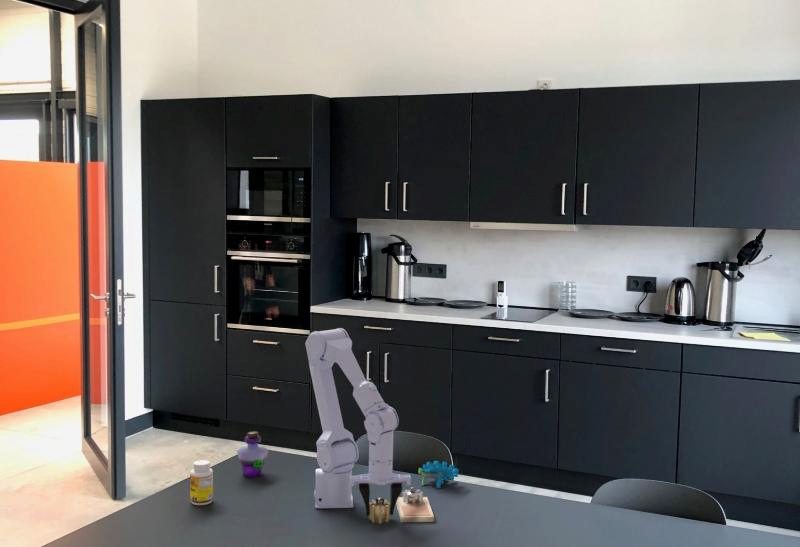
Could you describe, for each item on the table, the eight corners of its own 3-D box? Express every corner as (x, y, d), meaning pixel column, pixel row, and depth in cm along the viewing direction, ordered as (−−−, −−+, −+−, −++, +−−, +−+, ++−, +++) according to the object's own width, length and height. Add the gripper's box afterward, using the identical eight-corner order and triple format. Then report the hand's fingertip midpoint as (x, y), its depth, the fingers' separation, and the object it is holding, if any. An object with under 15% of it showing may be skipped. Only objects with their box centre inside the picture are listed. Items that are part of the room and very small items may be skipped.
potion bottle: (253, 482, 213) (253, 438, 212) (230, 475, 218) (230, 433, 217) (274, 473, 221) (275, 431, 220) (252, 467, 225) (252, 426, 224)
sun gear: (403, 504, 197) (404, 491, 196) (401, 497, 202) (402, 484, 201) (423, 504, 197) (424, 491, 197) (421, 497, 202) (421, 484, 202)
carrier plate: (400, 522, 189) (401, 516, 188) (395, 501, 201) (395, 497, 201) (434, 521, 189) (434, 516, 189) (426, 501, 202) (426, 496, 202)
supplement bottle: (188, 499, 200) (188, 460, 199) (210, 496, 202) (211, 457, 201) (191, 507, 195) (191, 467, 194) (214, 504, 197) (214, 464, 196)
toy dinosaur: (463, 475, 217) (453, 458, 210) (460, 496, 214) (451, 478, 207) (424, 476, 221) (414, 458, 214) (422, 495, 217) (411, 478, 210)
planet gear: (369, 523, 187) (370, 502, 187) (368, 515, 192) (368, 494, 192) (390, 523, 188) (391, 502, 187) (388, 515, 193) (389, 494, 192)
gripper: (351, 464, 184) (350, 520, 185) (412, 463, 186) (411, 519, 187) (350, 454, 191) (349, 509, 192) (409, 454, 193) (408, 508, 194)
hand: (379, 513), depth 190 cm, fingers closed on planet gear, 5 cm apart
